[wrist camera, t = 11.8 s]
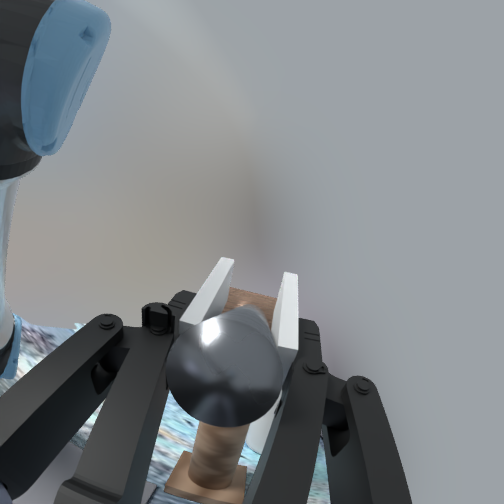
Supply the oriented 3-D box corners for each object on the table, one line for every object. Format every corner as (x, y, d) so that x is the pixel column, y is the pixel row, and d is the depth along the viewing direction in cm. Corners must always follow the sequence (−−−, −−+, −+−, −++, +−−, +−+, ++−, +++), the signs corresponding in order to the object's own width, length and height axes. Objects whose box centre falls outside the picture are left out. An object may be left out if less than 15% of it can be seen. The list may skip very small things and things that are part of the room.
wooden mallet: (335, 445, 6) (378, 310, 6) (97, 381, 6) (122, 248, 7) (278, 335, 30) (286, 301, 31) (218, 320, 30) (226, 286, 31)
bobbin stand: (163, 491, 29) (194, 334, 34) (182, 457, 42) (212, 325, 47) (240, 511, 28) (292, 358, 33) (244, 473, 41) (284, 342, 46)
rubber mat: (-45, 481, 4) (-46, 478, 4) (54, 433, 31) (53, 431, 31) (86, 592, 2) (86, 591, 2) (156, 487, 30) (156, 485, 30)
